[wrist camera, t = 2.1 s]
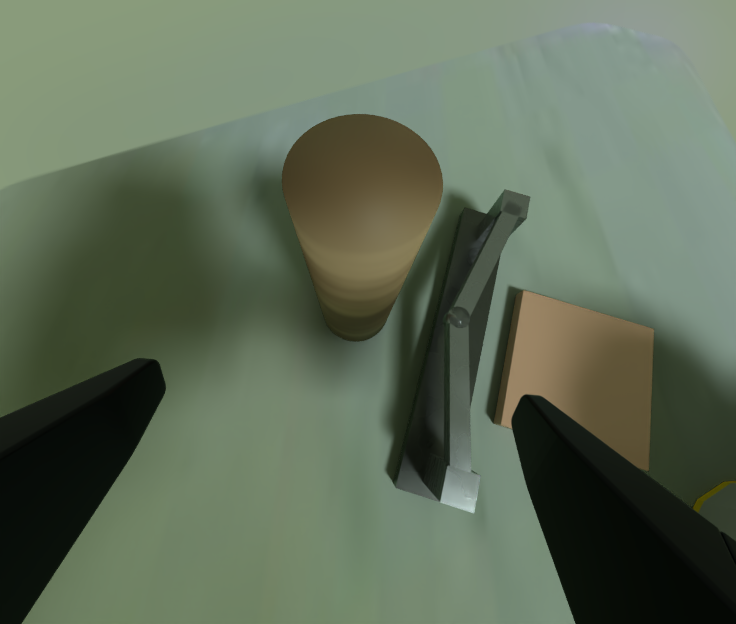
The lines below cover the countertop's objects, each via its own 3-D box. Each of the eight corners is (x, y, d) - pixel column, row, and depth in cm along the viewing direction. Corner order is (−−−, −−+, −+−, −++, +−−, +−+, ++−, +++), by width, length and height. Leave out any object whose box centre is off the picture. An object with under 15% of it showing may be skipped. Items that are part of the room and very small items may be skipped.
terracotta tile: (633, 467, 19) (648, 471, 18) (493, 423, 19) (500, 425, 18) (640, 332, 22) (654, 329, 21) (516, 294, 22) (523, 290, 21)
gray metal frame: (445, 499, 18) (475, 531, 14) (390, 482, 18) (402, 507, 14) (500, 227, 23) (535, 188, 19) (457, 214, 23) (481, 172, 19)
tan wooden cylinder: (397, 328, 21) (468, 222, 8) (335, 350, 20) (309, 272, 8) (374, 271, 22) (407, 100, 9) (315, 290, 21) (263, 134, 9)
